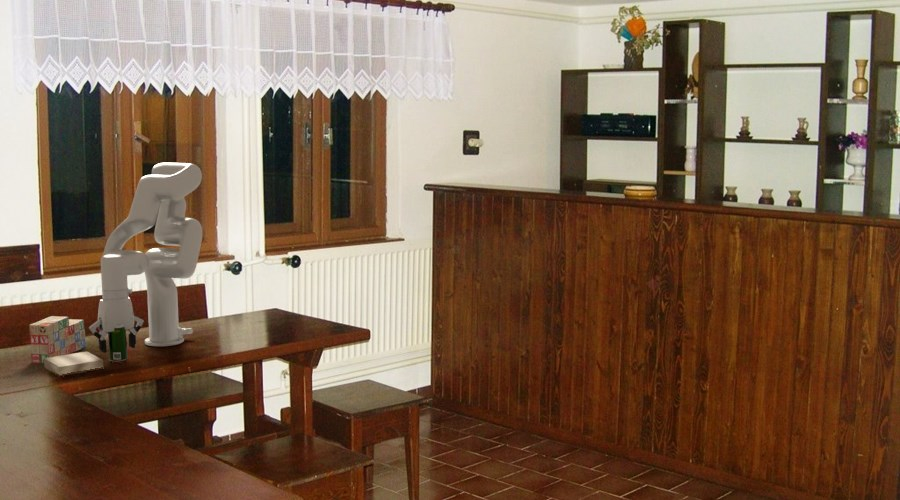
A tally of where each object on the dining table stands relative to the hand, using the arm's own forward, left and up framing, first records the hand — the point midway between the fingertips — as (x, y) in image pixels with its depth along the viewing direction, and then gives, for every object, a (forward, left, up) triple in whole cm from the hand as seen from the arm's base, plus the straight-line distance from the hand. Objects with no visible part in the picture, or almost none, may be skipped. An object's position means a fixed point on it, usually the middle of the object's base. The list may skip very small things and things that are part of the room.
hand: (117, 349), depth 323 cm
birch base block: (+14, 0, -4) cm, 14 cm away
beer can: (0, 0, -4) cm, 4 cm away
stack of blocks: (+11, -19, -4) cm, 23 cm away
